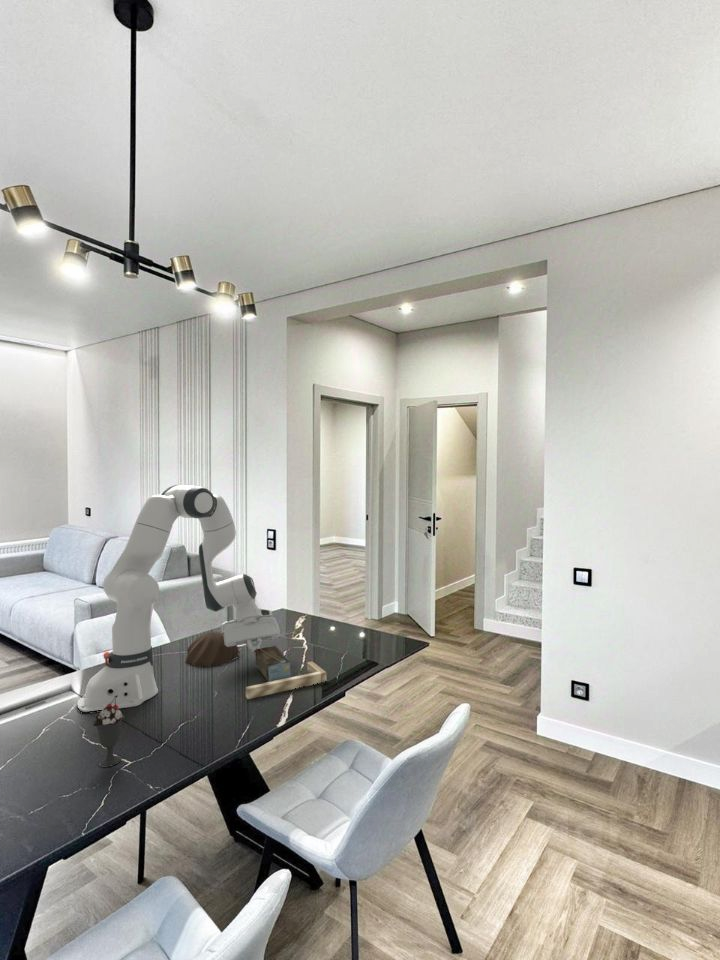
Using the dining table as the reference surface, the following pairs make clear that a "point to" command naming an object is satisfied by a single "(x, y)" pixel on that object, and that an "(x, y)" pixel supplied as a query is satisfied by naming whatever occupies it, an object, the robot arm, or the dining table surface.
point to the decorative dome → (210, 650)
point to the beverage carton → (272, 663)
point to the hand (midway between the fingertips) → (256, 652)
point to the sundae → (109, 731)
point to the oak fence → (288, 682)
